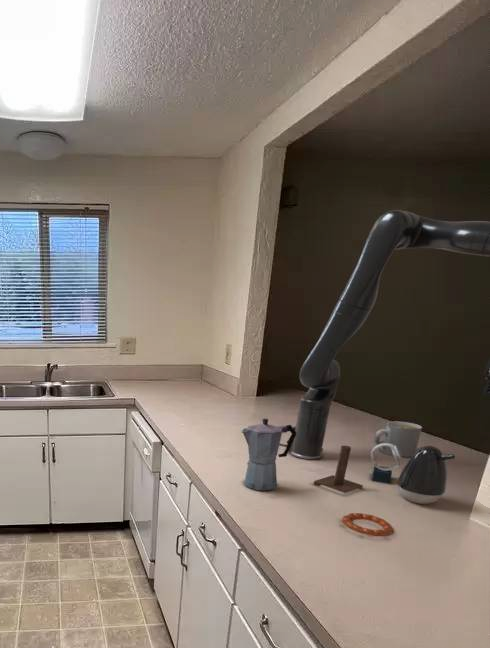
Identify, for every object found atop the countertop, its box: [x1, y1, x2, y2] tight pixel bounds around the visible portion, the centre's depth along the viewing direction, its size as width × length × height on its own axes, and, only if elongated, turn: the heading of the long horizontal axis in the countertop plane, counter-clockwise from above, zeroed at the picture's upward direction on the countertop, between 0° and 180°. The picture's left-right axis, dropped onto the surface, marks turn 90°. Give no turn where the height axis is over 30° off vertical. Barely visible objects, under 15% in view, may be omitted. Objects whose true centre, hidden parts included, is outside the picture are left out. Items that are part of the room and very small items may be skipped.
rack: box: [313, 445, 364, 494], centre depth 123 cm, size 9×9×12 cm
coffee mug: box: [374, 421, 423, 458], centre depth 153 cm, size 13×10×10 cm
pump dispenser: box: [397, 445, 456, 505], centre depth 114 cm, size 10×10×15 cm
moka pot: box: [241, 418, 297, 491], centre depth 123 cm, size 10×15×20 cm, turn 95°
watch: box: [370, 443, 403, 484], centre depth 129 cm, size 6×8×11 cm
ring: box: [341, 512, 394, 537], centre depth 102 cm, size 10×10×2 cm
